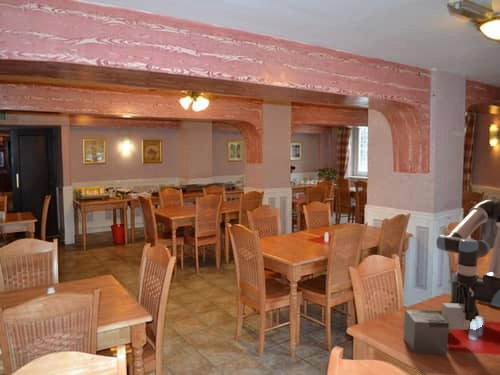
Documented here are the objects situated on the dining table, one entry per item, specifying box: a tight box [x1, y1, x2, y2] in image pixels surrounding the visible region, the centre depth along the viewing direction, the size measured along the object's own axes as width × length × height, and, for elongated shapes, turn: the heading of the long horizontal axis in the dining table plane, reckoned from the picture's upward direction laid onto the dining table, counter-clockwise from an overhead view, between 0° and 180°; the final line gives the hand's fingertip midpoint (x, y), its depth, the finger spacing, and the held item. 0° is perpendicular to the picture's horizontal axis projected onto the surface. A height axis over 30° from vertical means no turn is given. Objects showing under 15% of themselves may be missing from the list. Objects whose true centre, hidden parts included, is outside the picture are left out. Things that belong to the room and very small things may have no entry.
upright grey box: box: [441, 302, 470, 331], centre depth 183 cm, size 10×5×10 cm, turn 87°
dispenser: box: [403, 309, 449, 355], centre depth 179 cm, size 14×13×14 cm
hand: (462, 323), depth 184 cm, fingers closed on upright grey box, 5 cm apart
